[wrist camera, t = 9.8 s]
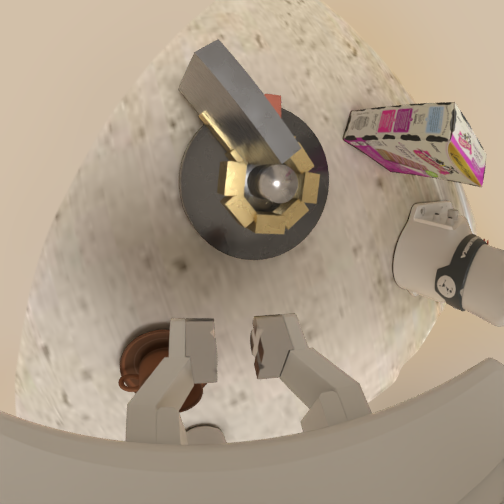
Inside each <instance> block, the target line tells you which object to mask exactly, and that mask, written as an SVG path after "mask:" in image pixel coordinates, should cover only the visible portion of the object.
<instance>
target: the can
mask: <svg viewBox="0 0 504 504" xmlns="http://www.w3.org/2000/svg"><path fill="white" fill-rule="evenodd" d="M186 433H187V443H188V445H196V444H220V443H227V442H226V440H225V437H224V435H223V433H222V431H221V430H219V429H218V428H214V427H211V426H197V427H194V428H192V429H190V430H188V431H187V432H186Z"/></svg>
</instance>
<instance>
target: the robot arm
mask: <svg viewBox="0 0 504 504" xmlns="http://www.w3.org/2000/svg"><path fill="white" fill-rule="evenodd" d="M393 272H394V278H395V281H396V283H397V285H398V286H399V287H401V288H403V289H407V290H408V291H409V292H410V294H411V295H413V296H417V295H418V294H419V295H422V296H424V297H427V298H430V299H432V300H435V301H438V302H441V303H444V302H446V303H447V304H449V305H451V306H452V307H453V308H455V309H459V310H461V311H465V310H467V311H468V312H470V313H472V314H474V315H476V316H478V317H480V318H482V319H483V320H485V321H487V322H489V323H491V324H493V325H495V326H498V327H501V326H504V250H501V249H498V248H495V247H492V246H489V245H488V241H487V243H486V242H485V239H484V240H482V239H481V238H480V237H478V236H476V235H474V234H472V231H471V229H470V226H469V223H468V221H467V219H466V218H465V217H463V216H460V215H458V210H456V209H453V206H452V203H451V202H450V201H438V202H428V203H419V204H414V205H413V207H412V210H411V213H410V217H409V220H408V223H407V224H406V226H405V228H404V230H403V232H402V233H401V236H400V238H399V241H398V243H397V247H396V250H395V255H394V263H393ZM252 324H253V330H251V336H250V344H251V351H252V355H253V356H254V357H256V358H255V363H254V366H255V370H256V375H257V379H267V378H278V377H280V379H281V380H282V381H283V382H284V383H285V384H286V385H287V387H288V388H289V389H290V390H291V391H292V392H293V393H294V394H295V395H296V396H297V397H298V398H299V399H300V400H301V401H302V402H303V403H304V404H305V405H306V406H307V407H308V408H309V409H310V410H309V411H308V412H307V414H306V415H305V416H304V418H303V419H302V420H301V426H302V429H303V432H302V433H297V434H292V435H287V436H281V437H275V438H268V439H261V440H253V441H244V442H234V443H220V444H196V445H188V443H187V433H186V430H185V428H184V425H183V422H182V419H181V417H180V414H179V410H180V408H181V407H182V405H183V403H184V401H185V400H186V398H187V396H188V395H189V393H190V391H191V390H192V388H193V386H194V384H197V383H214V382H217V348H216V338H215V327H214V319H195V318H186V319H180V318H171V321H170V335H169V357H164V359H163V360H162V361H161V362H160V364H159V365H158V366H157V367H156V369H155V370H154V371H153V373H152V374H151V375H150V376H149V378H148V379H147V380H146V381H145V383H144V384H143V385H142V386H141V388H140V389H139V390H138V392H137V393H136V394H135V395H134V397H133V398H132V399H131V400H130V402H129V403H128V404H127V419H126V441H118V440H110V439H103V438H97V437H91V436H86V435H81V434H76V433H71V432H67V431H63V430H59V429H55V428H51V427H47V426H44V425H40V424H37V423H34V422H30V421H27V420H24V419H21V418H19V417H16V416H13V415H10V414H8V413H5V412H3V411H0V504H504V365H503V364H501V363H500V362H498V361H497V360H495V359H493V358H487V359H485V360H483V361H482V362H480V363H478V364H477V365H475V366H473V367H472V368H470V369H468V370H467V371H465V372H463V373H461V374H460V375H458V376H456V377H454V378H453V379H450V380H449V381H447V382H445V383H443V384H441V385H439V386H437V387H435V388H433V389H431V390H429V391H426V392H424V393H422V394H420V395H418V396H416V397H413V398H411V399H408V400H406V401H404V402H401V403H399V404H396V405H394V406H391V407H388V408H386V409H383V410H380V411H377V412H375V413H371V410H370V408H369V405H368V403H367V400H366V398H365V396H364V393H363V391H362V389H361V386H360V384H359V383H358V382H357V381H355V380H354V379H353V378H351V377H350V376H349V375H347V374H346V373H345V372H343V371H342V370H341V369H339V368H338V367H337V366H335V365H334V364H333V363H332V362H330V361H329V360H328V359H326V358H325V357H324V356H322V355H321V354H320V353H319V352H317V351H316V350H315V349H314V348H309V347H308V345H307V342H306V339H305V337H304V334H303V331H302V329H301V326H300V323H299V321H298V318H297V315H296V314H295V313H293V314H281V315H280V314H278V315H265V316H254V318H253V322H252Z"/></svg>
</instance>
